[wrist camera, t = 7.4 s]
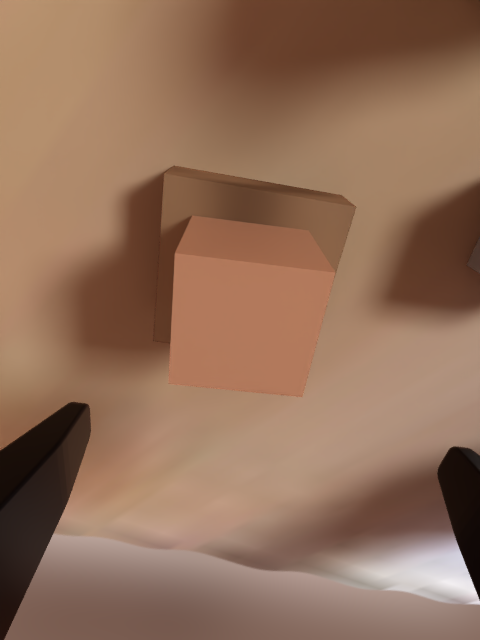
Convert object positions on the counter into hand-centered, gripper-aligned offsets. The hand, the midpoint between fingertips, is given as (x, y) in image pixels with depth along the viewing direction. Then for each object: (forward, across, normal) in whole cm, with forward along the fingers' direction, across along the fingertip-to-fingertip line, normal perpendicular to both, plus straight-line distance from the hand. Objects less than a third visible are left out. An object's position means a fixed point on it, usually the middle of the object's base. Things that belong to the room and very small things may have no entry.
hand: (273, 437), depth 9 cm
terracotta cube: (+9, +1, 0) cm, 9 cm away
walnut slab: (+12, +1, 0) cm, 12 cm away
